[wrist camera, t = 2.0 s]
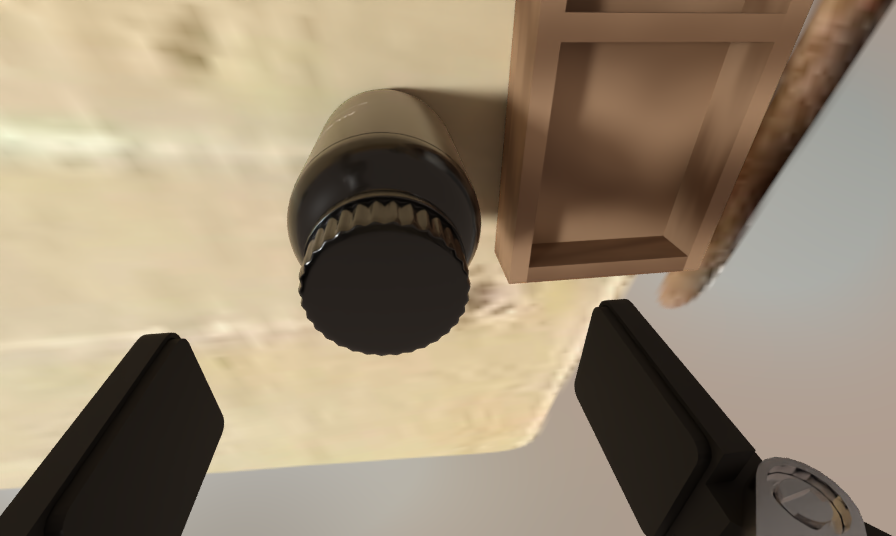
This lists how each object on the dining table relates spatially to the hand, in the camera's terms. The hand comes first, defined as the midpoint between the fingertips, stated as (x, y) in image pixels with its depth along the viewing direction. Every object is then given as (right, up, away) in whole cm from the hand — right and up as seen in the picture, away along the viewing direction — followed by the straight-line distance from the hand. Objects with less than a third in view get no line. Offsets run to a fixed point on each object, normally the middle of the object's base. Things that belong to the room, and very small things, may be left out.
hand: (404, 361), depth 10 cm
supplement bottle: (-2, +8, +11) cm, 14 cm away
